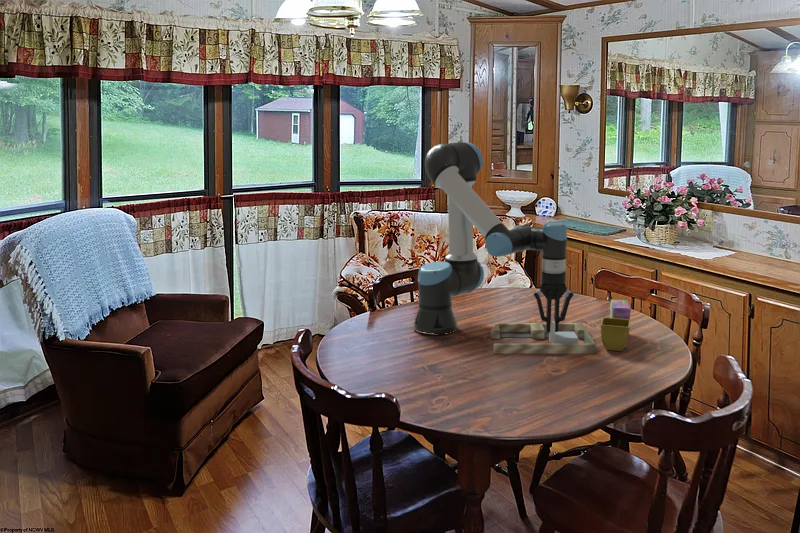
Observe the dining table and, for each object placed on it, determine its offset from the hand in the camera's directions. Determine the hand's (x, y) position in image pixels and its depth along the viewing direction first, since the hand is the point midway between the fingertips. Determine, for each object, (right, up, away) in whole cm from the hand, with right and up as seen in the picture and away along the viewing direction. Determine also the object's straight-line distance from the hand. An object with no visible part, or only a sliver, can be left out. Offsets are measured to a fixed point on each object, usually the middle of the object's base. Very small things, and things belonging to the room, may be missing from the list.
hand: (551, 341), depth 243 cm
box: (+24, 0, +7) cm, 25 cm away
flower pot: (+19, -2, -4) cm, 20 cm away
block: (+4, -2, 0) cm, 5 cm away
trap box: (-3, -1, +4) cm, 5 cm away
